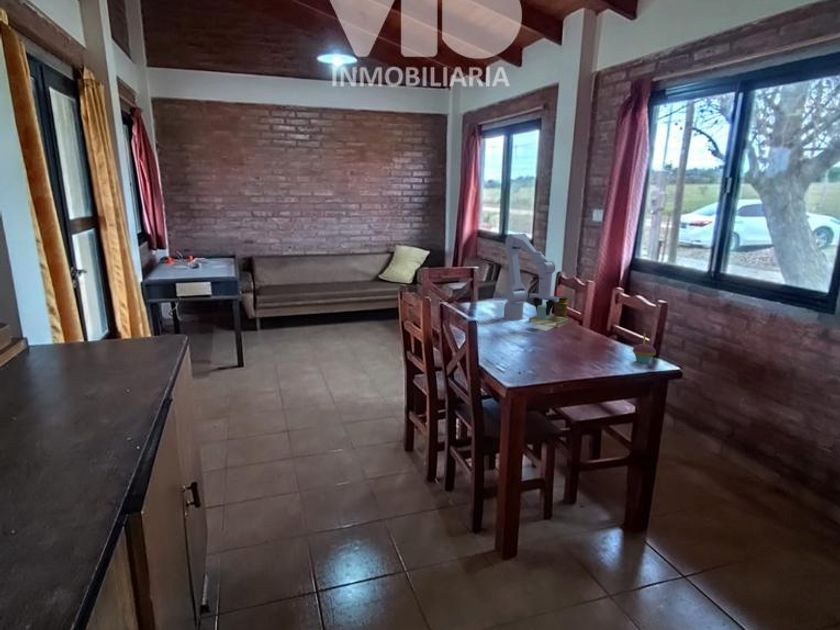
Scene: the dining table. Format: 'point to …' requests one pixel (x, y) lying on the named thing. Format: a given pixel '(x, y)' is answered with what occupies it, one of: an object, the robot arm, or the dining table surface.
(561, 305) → the condiment
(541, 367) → the dining table surface
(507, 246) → the robot arm
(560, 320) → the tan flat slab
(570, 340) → the dining table surface
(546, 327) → the coaster
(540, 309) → the block
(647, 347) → the cupcake
